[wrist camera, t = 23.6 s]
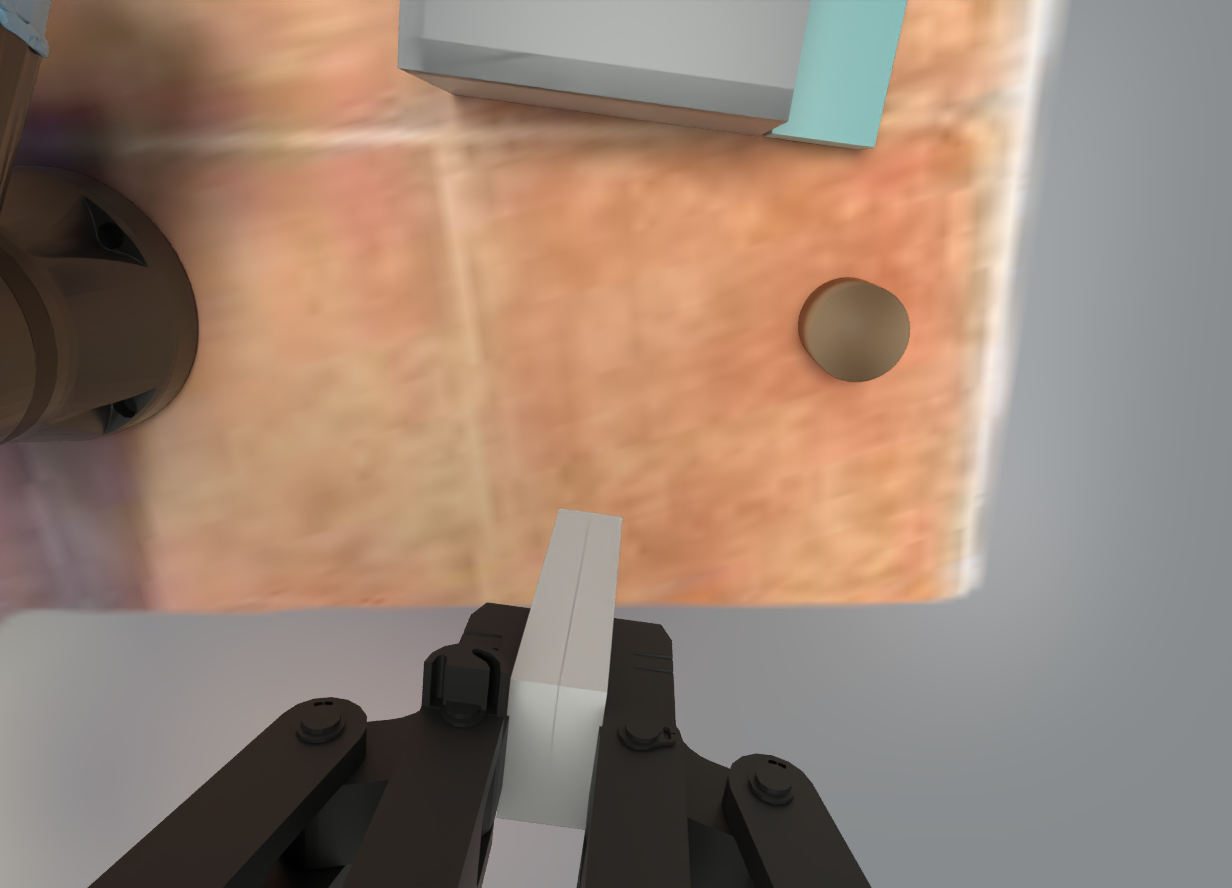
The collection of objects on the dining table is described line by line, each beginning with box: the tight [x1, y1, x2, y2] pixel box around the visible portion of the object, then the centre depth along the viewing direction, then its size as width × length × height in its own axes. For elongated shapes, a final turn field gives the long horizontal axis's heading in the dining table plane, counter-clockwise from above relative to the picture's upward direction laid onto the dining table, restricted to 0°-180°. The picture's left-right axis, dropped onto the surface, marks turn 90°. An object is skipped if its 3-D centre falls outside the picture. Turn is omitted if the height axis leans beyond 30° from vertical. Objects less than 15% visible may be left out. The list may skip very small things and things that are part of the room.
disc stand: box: [798, 277, 910, 382], centre depth 40 cm, size 5×5×4 cm
